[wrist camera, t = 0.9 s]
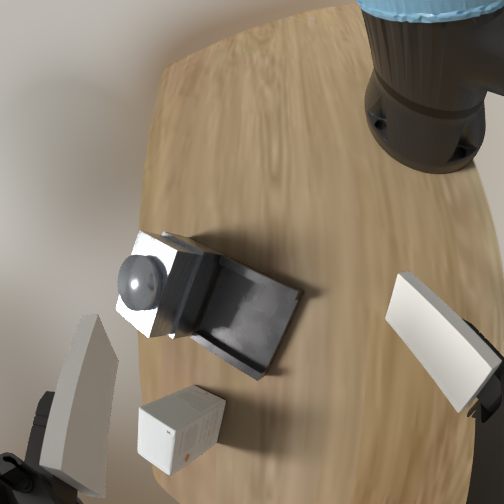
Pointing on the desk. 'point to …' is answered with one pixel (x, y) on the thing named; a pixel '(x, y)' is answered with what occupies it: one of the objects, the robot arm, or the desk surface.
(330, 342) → the desk surface
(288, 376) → the desk surface
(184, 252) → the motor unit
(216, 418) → the small box
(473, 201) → the desk surface
